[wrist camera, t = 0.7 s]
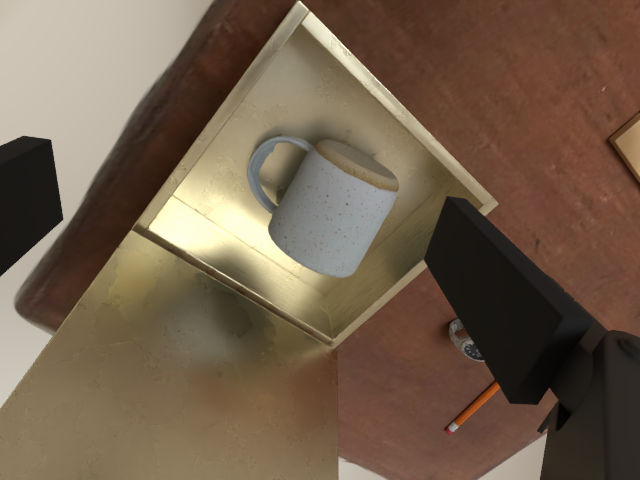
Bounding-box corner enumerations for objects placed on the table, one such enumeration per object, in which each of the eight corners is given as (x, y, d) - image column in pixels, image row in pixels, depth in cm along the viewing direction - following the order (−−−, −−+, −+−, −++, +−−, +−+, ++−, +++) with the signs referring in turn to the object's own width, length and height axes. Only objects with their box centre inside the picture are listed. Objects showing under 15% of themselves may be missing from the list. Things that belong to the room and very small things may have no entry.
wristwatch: (442, 316, 41) (461, 351, 37) (499, 299, 41) (524, 332, 36) (447, 339, 43) (465, 374, 39) (501, 322, 43) (526, 356, 38)
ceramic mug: (393, 162, 31) (422, 198, 25) (346, 242, 35) (360, 294, 28) (272, 104, 28) (267, 128, 22) (234, 198, 32) (220, 243, 25)
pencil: (444, 427, 51) (446, 434, 51) (544, 331, 44) (549, 337, 43) (448, 429, 52) (451, 435, 51) (549, 334, 44) (554, 339, 43)
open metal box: (294, 4, 26) (298, -2, 20) (460, 171, 33) (499, 204, 27) (158, 191, 32) (130, 229, 26) (325, 299, 39) (333, 349, 33)
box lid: (-162, 630, 10) (-174, 647, 13) (341, 692, 17) (272, 696, 20) (130, 229, 25) (99, 272, 28) (337, 351, 32) (298, 377, 35)
